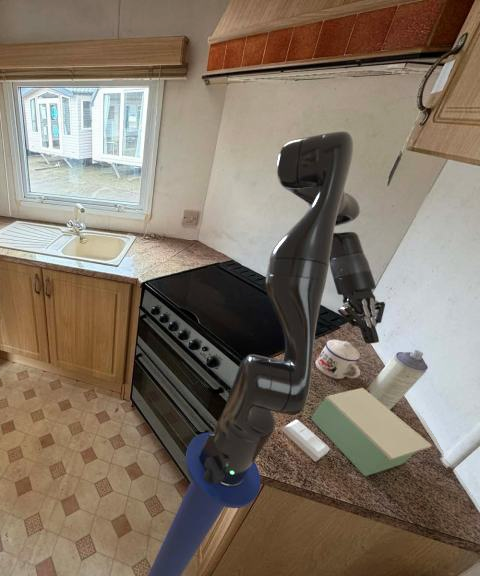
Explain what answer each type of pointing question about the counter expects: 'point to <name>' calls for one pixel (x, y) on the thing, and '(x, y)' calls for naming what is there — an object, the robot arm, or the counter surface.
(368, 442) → the container
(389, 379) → the aerosol can
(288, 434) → the white light switch
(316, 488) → the counter surface
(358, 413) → the lid
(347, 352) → the teacup with lid
